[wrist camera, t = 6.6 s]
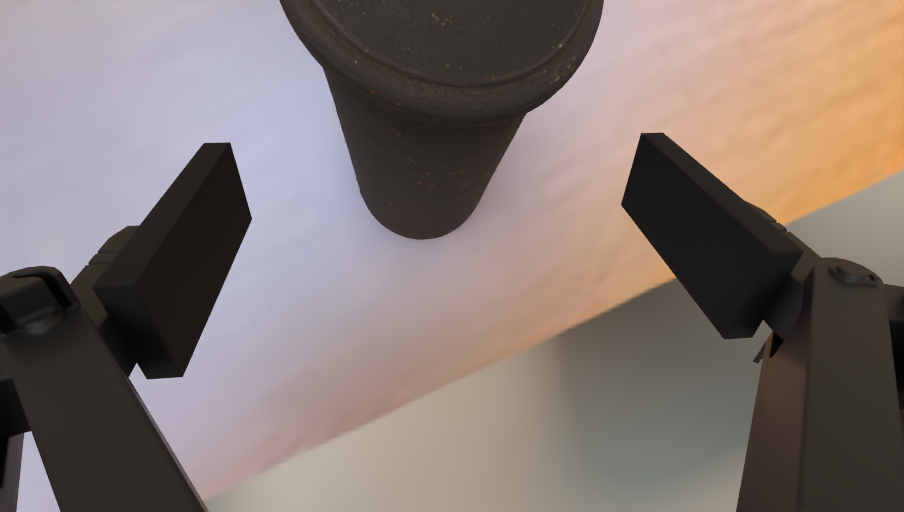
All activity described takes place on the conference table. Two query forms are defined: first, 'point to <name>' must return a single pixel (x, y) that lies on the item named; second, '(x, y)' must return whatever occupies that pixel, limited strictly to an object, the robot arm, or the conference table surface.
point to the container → (438, 91)
